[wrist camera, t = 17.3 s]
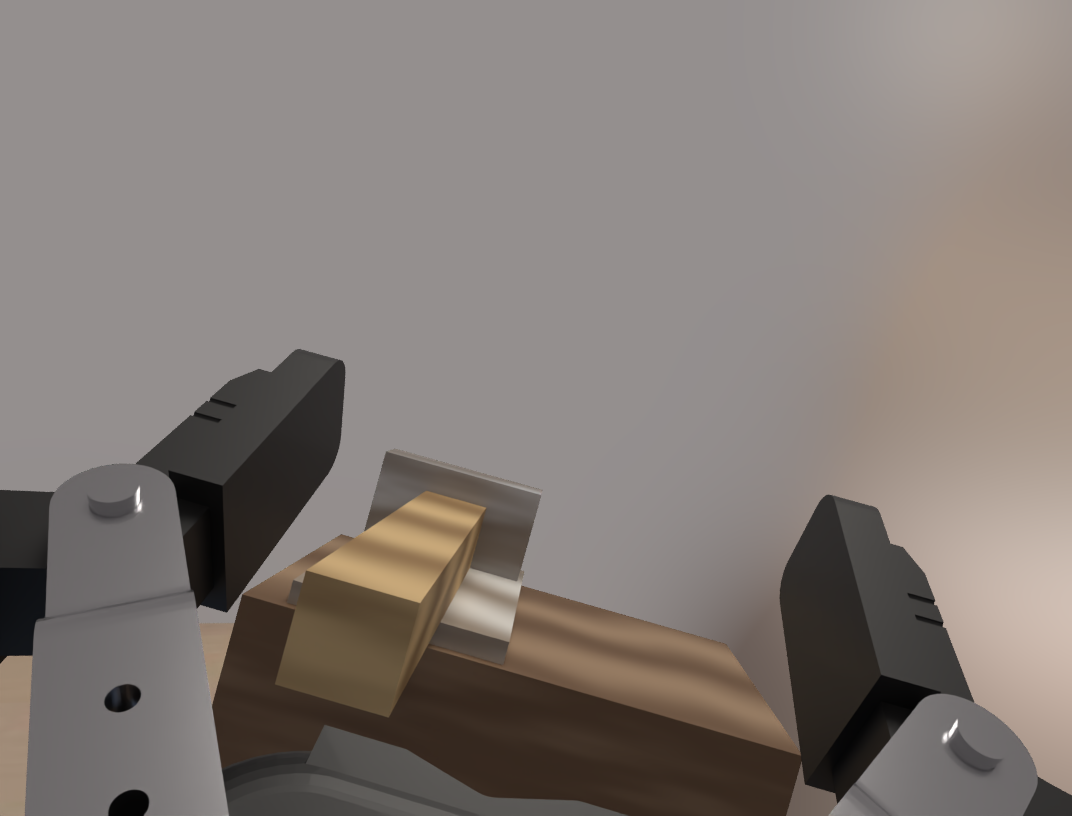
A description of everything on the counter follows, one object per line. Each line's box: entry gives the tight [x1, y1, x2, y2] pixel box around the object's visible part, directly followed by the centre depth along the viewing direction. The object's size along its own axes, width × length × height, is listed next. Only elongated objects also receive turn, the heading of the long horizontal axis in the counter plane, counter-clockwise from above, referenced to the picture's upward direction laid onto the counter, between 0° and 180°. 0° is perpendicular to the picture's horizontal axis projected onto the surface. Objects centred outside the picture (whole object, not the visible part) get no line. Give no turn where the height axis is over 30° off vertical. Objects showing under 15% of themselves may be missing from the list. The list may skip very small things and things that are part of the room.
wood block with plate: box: [275, 449, 542, 718], centre depth 33 cm, size 22×9×5 cm, turn 178°
